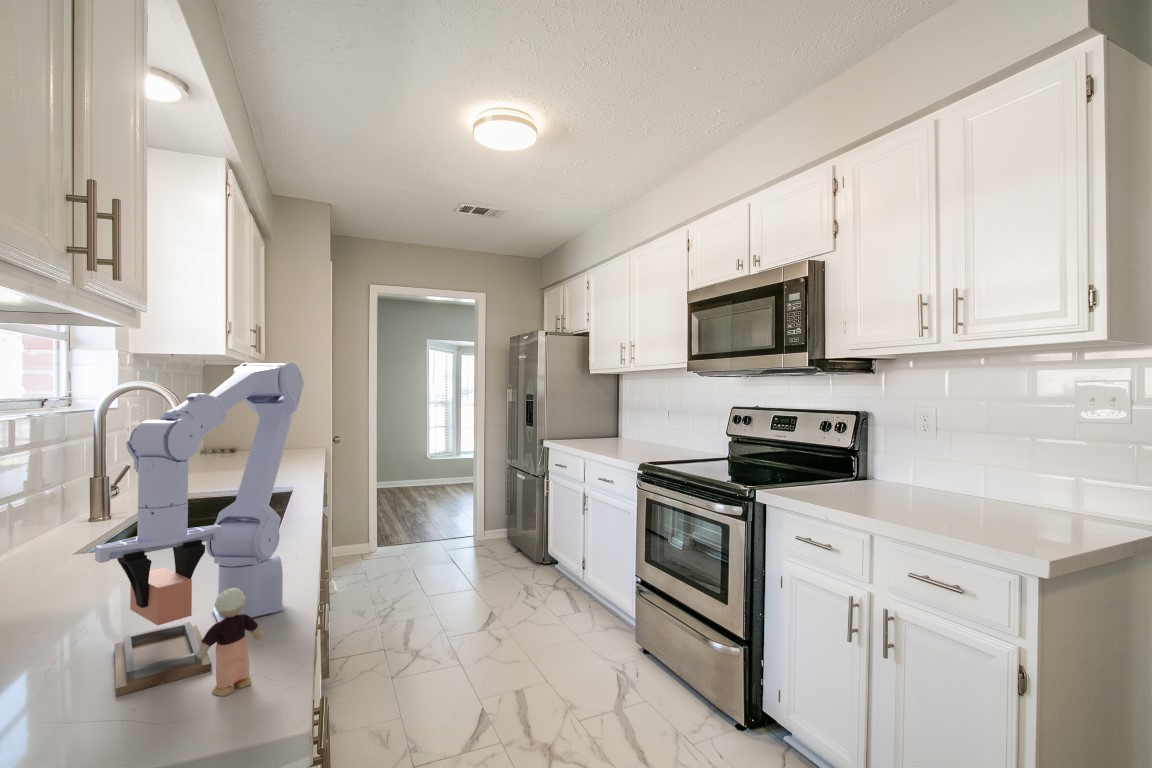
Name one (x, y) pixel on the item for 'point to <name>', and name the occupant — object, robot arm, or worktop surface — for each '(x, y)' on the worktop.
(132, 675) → the cradle
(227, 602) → the grandmother figurine
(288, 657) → the worktop surface
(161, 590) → the block
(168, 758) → the worktop surface
